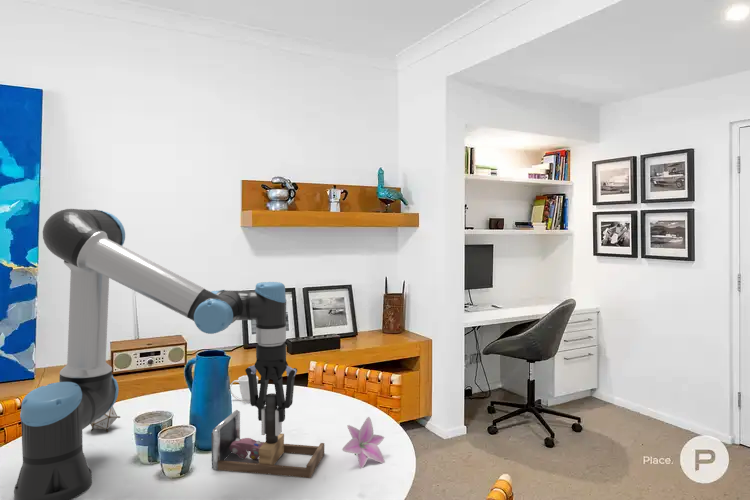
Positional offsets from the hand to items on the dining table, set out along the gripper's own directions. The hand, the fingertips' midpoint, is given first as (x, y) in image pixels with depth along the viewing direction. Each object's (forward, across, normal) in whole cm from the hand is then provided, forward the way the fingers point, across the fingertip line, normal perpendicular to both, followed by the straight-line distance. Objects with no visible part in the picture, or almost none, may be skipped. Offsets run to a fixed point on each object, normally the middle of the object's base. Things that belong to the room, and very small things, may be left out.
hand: (271, 433), depth 131 cm
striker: (+8, 0, 0) cm, 8 cm away
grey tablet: (+8, +13, 0) cm, 15 cm away
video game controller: (+8, +6, -1) cm, 10 cm away
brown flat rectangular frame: (+8, 0, 0) cm, 8 cm away
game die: (+8, +57, -11) cm, 59 cm away
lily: (+8, -23, -5) cm, 25 cm away
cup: (+8, +26, -42) cm, 50 cm away
